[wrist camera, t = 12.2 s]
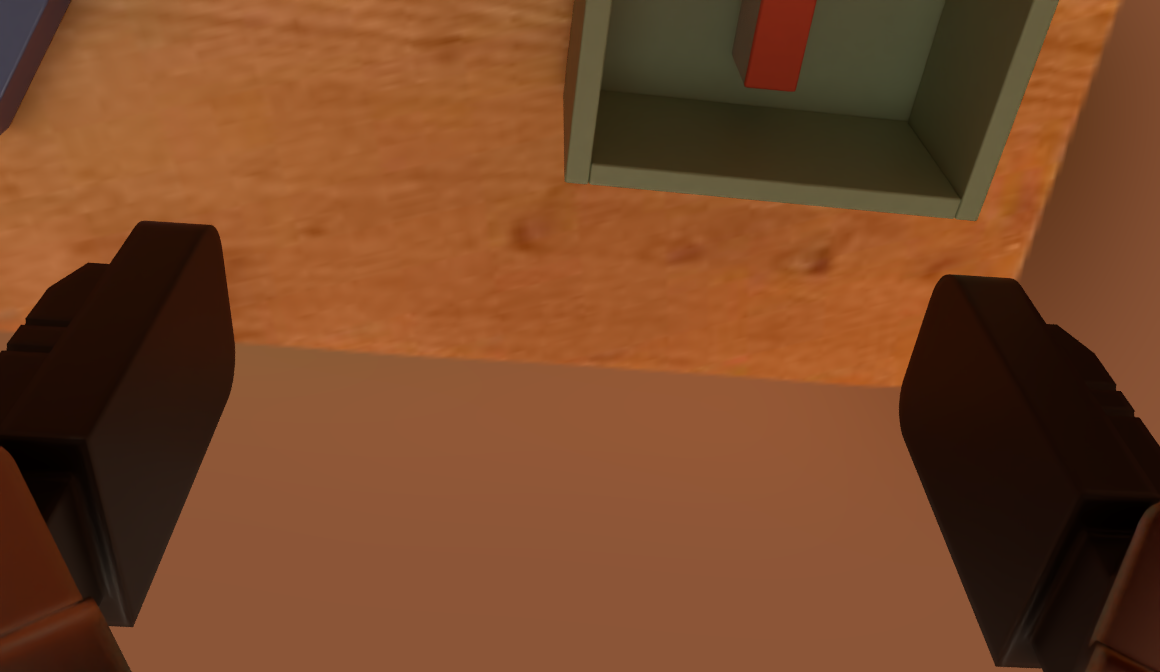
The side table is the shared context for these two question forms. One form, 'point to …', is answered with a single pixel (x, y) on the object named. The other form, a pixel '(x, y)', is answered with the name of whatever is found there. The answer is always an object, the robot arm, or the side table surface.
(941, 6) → the bin
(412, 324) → the side table surface
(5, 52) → the blue spoon
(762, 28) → the red spoon
